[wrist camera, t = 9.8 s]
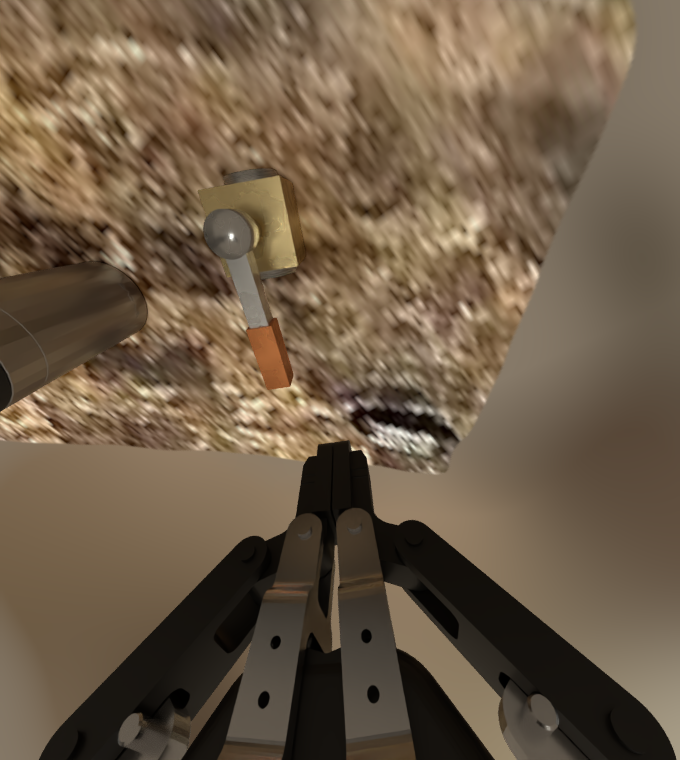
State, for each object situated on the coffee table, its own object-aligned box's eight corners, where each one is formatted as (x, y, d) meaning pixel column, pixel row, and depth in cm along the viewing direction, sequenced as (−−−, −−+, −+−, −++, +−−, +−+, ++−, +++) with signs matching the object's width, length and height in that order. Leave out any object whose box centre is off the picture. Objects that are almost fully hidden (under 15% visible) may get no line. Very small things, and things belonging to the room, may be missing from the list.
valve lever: (210, 213, 21) (195, 213, 19) (251, 205, 21) (240, 204, 19) (268, 378, 29) (262, 391, 26) (298, 373, 28) (295, 386, 26)
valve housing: (250, 274, 34) (217, 296, 25) (223, 183, 29) (172, 170, 20) (308, 265, 33) (295, 284, 24) (290, 171, 28) (266, 152, 20)
